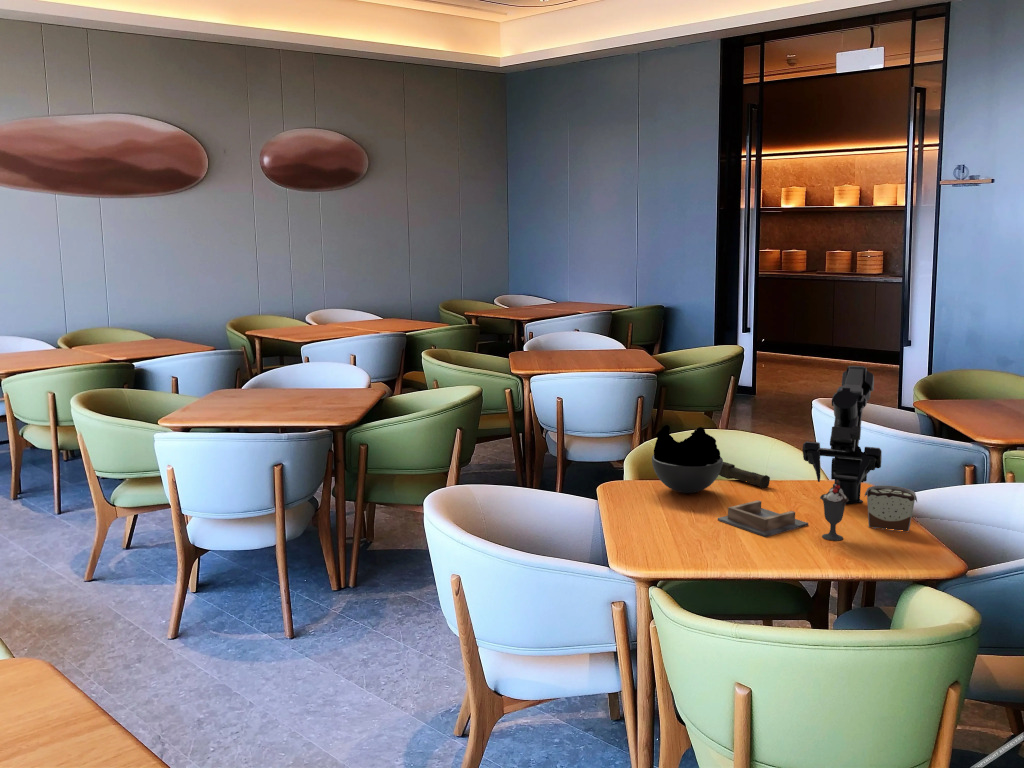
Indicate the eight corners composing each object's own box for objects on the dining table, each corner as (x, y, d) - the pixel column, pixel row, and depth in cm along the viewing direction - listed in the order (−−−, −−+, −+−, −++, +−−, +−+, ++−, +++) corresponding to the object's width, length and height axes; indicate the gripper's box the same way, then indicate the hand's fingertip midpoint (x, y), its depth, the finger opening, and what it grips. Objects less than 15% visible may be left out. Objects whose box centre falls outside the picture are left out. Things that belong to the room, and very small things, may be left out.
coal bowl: (736, 495, 266) (739, 430, 262) (682, 506, 255) (684, 439, 252) (689, 478, 282) (691, 417, 279) (637, 488, 272) (638, 425, 269)
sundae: (833, 543, 225) (836, 483, 222) (812, 535, 231) (815, 477, 228) (852, 539, 228) (856, 480, 225) (832, 531, 234) (835, 473, 231)
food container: (915, 526, 238) (918, 488, 236) (915, 533, 232) (917, 494, 231) (864, 519, 243) (866, 482, 241) (862, 526, 237) (864, 488, 236)
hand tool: (770, 487, 273) (771, 472, 273) (761, 490, 271) (761, 474, 270) (723, 473, 289) (723, 459, 288) (714, 475, 287) (714, 461, 286)
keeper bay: (759, 509, 252) (760, 496, 251) (808, 525, 239) (808, 511, 238) (717, 520, 243) (718, 506, 243) (765, 537, 230) (765, 523, 229)
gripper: (805, 410, 238) (796, 462, 230) (883, 416, 231) (877, 470, 223) (808, 434, 247) (799, 485, 239) (883, 441, 239) (878, 493, 231)
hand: (837, 483), depth 233 cm, fingers open, 9 cm apart
